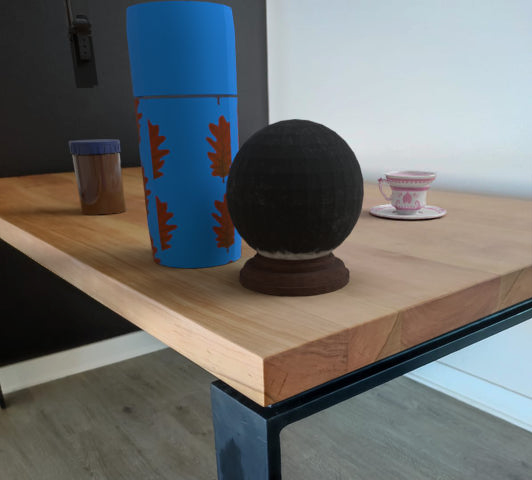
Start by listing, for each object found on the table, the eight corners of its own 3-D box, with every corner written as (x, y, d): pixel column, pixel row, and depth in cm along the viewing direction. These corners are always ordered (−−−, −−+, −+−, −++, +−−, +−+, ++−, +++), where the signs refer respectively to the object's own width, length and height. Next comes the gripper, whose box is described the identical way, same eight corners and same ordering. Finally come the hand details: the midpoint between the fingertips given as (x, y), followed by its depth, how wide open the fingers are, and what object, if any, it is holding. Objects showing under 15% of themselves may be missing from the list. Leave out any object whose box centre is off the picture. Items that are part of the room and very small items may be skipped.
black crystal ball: (295, 255, 64) (296, 116, 58) (386, 278, 55) (398, 117, 49) (204, 278, 56) (193, 120, 50) (291, 309, 47) (292, 121, 41)
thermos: (237, 243, 70) (228, 18, 60) (249, 265, 61) (240, 1, 50) (152, 248, 69) (127, 17, 58) (150, 271, 59) (120, -1, 49)
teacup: (438, 207, 92) (442, 169, 90) (453, 220, 81) (458, 177, 79) (366, 207, 93) (368, 169, 91) (372, 220, 82) (374, 178, 80)
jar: (75, 215, 91) (64, 146, 87) (88, 208, 98) (79, 143, 94) (120, 214, 91) (111, 145, 87) (130, 207, 98) (123, 142, 94)
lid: (63, 154, 87) (61, 142, 86) (79, 150, 94) (77, 139, 94) (114, 153, 87) (112, 141, 86) (126, 149, 94) (124, 138, 94)
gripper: (95, -114, 69) (118, 83, 78) (84, -66, 88) (104, 89, 97) (32, -121, 67) (63, 83, 76) (35, -70, 85) (60, 89, 95)
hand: (86, 86), depth 87 cm, fingers open, 9 cm apart
